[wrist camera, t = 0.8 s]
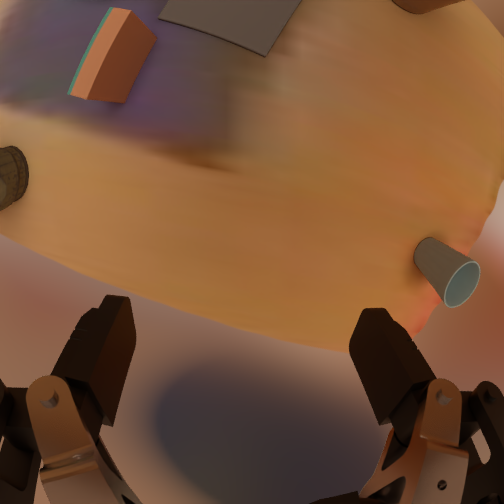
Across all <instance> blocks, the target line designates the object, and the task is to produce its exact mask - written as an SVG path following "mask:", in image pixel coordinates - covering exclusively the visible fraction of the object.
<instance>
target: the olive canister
mask: <svg viewBox="0 0 504 504" xmlns="http://www.w3.org/2000/svg"><path fill="white" fill-rule="evenodd" d="M28 178H29V173H28V165H27V162H26V158H25V156H24V155H23V153H22V151H20V150H19V149H18V148H17V147H14V146H9V147H5V148H0V211H1V210H3V209H5V208H6V207H8V206H9V205H11V204H12V203H13V202H15V201H17V200H18V199H20V198H21V197H22V196H23V194H24V193H25V191H26V188H27V185H28Z"/></svg>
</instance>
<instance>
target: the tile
mask: <svg viewBox="0 0 504 504" xmlns="http://www.w3.org/2000/svg"><path fill="white" fill-rule="evenodd" d="M156 39H157V37H156V36H155V35H154V34H153V33H152V32H151V31H150V30H149V29H148V27H147V26H146V25H145V24H144V23H143V22H142V21H141V20H140V19H139V18H138V17H137V16H136V15H135V14H134V13H133V12H132V11H131V10H126V9H120V8H113V7H110V8H109V10H108V11H107V13H106V15H105V16H104V18H103V20H102V22H101V23H100V25H99V27H98V29H97V30H96V32H95V34H94V36H93V38H92V40H91V42H90V44H89V46H88V48H87V50H86V52H85V54H84V56H83V58H82V60H81V62H80V64H79V67H78V69H77V71H76V73H75V76H74V78H73V81H72V83H71V86H70V88H69V91H68V93H67V94H69V95H73V96H77V97H80V98H83V99H87V100H99V101H109V102H118V103H125V101H126V99H127V97H128V95H129V92H130V90H131V88H132V86H133V84H134V81H135V79H136V77H137V75H138V73H139V71H140V69H141V67H142V65H143V63H144V61H145V59H146V58H147V56H148V54H149V52H150V50H151V48H152V47H153V45H154V43H155V41H156Z"/></svg>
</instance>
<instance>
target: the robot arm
mask: <svg viewBox="0 0 504 504" xmlns="http://www.w3.org/2000/svg"><path fill="white" fill-rule="evenodd" d="M393 1H394V2H395V3H396V4H397V5H399V6H400V7H402V8H403V9H405V10H407V11H409V12H411V13H415V14H423V13H426V12H429V11H432V10H435V9H438V8H441V7H444V6H447V5H451V4H454V3H457V2H461V1H465V0H393ZM135 345H136V329H135V324H134V319H133V313H132V307H131V302H130V299H129V297H125V296H116V295H106V296H105V298H104V299H103V301H102V303H101V305H100V306H99V308H91V309H90V310H89V311H88V312H87V313H85V314H84V315H83V316H82V317H81V318H80V320H79V322H78V323H77V325H76V327H75V330H74V331H73V333H72V334H71V336H70V339H69V340H68V342H67V343H66V345H65V347H64V349H63V351H62V353H61V355H60V357H59V359H58V361H57V363H56V365H55V367H54V369H53V371H52V373H51V374H50V375H48V376H42V377H40V378H38V379H37V380H35V381H34V382H33V383H32V384H31V385H30V386H29V388H11V387H6V386H5V385H4V383H3V382H2V380H1V379H0V442H1V438H2V436H3V437H4V441H3V444H2V448H1V451H0V504H33V503H34V496H35V489H36V483H37V478H38V472H39V468H40V463H41V459H42V460H43V464H44V466H43V468H41V469H40V473H39V474H40V479H41V482H42V485H43V487H44V490H45V492H46V495H47V497H48V499H49V501H50V503H51V504H142V503H141V501H140V500H139V498H138V497H137V496H136V494H135V493H134V492H133V491H132V489H131V488H130V487H129V486H128V484H127V483H126V481H125V480H124V478H123V477H122V475H121V473H120V472H119V470H118V468H117V466H116V465H115V463H114V461H113V460H112V458H111V456H110V454H109V452H108V450H107V448H106V446H105V445H104V442H103V440H102V438H101V436H100V435H99V432H100V428H101V425H102V424H104V425H108V426H112V427H113V424H114V420H115V416H116V412H117V409H118V405H119V401H120V397H121V393H122V390H123V387H124V383H125V380H126V376H127V372H128V369H129V366H130V362H131V360H132V356H133V353H134V350H135ZM349 352H350V356H351V358H352V360H353V363H354V365H355V368H356V370H357V372H358V374H359V377H360V379H361V382H362V384H363V386H364V389H365V391H366V394H367V396H368V399H369V401H370V404H371V406H372V408H373V411H374V414H375V416H376V419H377V421H378V424H379V425H384V424H388V423H392V425H393V427H392V429H391V430H390V432H389V434H388V437H387V440H386V443H385V446H384V449H383V451H382V454H381V457H380V460H379V462H378V465H377V467H376V470H375V472H374V474H373V476H372V477H371V479H370V480H369V481H368V482H367V483H366V485H365V486H364V487H363V489H362V491H361V492H360V494H359V495H358V491H355V492H351V493H347V494H343V495H339V496H334V497H329V498H324V499H319V500H317V501H315V502H312V503H310V504H504V396H503V395H502V393H501V391H500V389H499V388H498V387H497V386H496V385H494V384H493V383H491V382H489V381H483V382H481V383H480V384H479V385H478V386H477V388H475V390H474V391H473V392H471V391H459V389H458V388H457V386H456V385H455V384H454V383H452V382H451V381H449V380H446V379H442V378H439V379H437V378H436V376H435V375H434V373H433V372H432V370H431V368H430V367H429V365H428V363H427V362H426V360H425V359H424V357H423V355H422V354H421V352H420V351H419V350H417V346H416V345H415V343H414V342H413V341H412V339H411V337H410V336H409V334H408V333H407V331H406V330H405V329H404V328H403V327H402V326H401V325H400V324H398V323H397V322H396V321H394V320H393V319H392V317H391V316H390V314H389V313H388V311H387V310H386V309H385V308H365V309H364V310H363V311H362V313H361V315H360V317H359V320H358V322H357V325H356V327H355V329H354V332H353V334H352V336H351V339H350V343H349ZM479 429H481V431H482V433H483V435H484V437H485V439H486V442H487V444H488V446H489V449H490V452H491V456H490V459H489V461H488V462H487V463H486V464H483V463H482V462H481V460H480V457H479V455H478V453H477V450H476V448H475V445H474V443H473V441H472V438H471V436H473V435H474V434H475V433H476V432H477V431H478V430H479Z"/></svg>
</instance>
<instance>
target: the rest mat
mask: <svg viewBox="0 0 504 504" xmlns="http://www.w3.org/2000/svg"><path fill="white" fill-rule="evenodd" d="M300 2H301V0H169V1H168V3H167V4H166V6H165V7H164V9H163V10H162V12H161V13H160V15H159V16H158V19H159V20H163V21H167V22H171V23H175V24H178V25H182V26H185V27H188V28H191V29H195V30H198V31H201V32H204V33H207V34H209V35H212V36H215V37H218V38H220V39H223V40H226V41H228V42H231V43H233V44H236V45H238V46H241V47H243V48H245V49H248V50H250V51H252V52H254V53H257V54H259V55H261V56H263V57H266V55H267V53H268V52H269V50H270V48H271V47H272V45H273V43H274V42H275V40H276V39H277V37H278V35H279V34H280V32H281V31H282V29H283V27H284V26H285V24H286V23H287V21H288V20H289V18H290V17H291V15H292V14H293V12H294V10H295V9H296V8H297V6H298V5H299V3H300Z"/></svg>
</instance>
